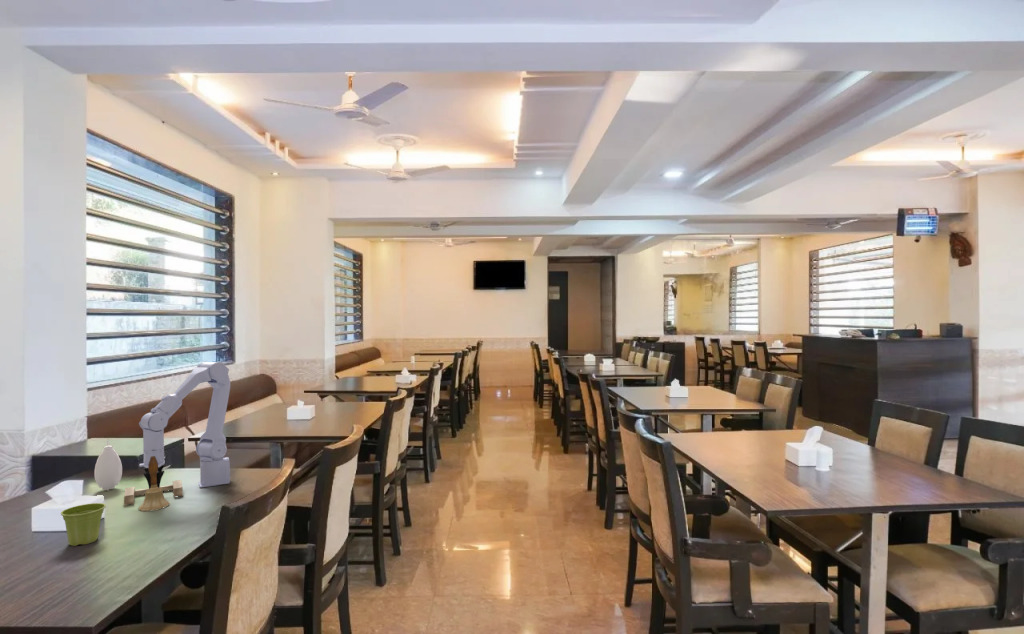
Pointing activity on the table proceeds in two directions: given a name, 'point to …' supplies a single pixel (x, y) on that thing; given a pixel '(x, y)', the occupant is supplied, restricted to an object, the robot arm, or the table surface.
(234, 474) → the table surface
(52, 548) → the table surface
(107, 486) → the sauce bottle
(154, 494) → the hand bell
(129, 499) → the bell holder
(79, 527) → the plant pot
